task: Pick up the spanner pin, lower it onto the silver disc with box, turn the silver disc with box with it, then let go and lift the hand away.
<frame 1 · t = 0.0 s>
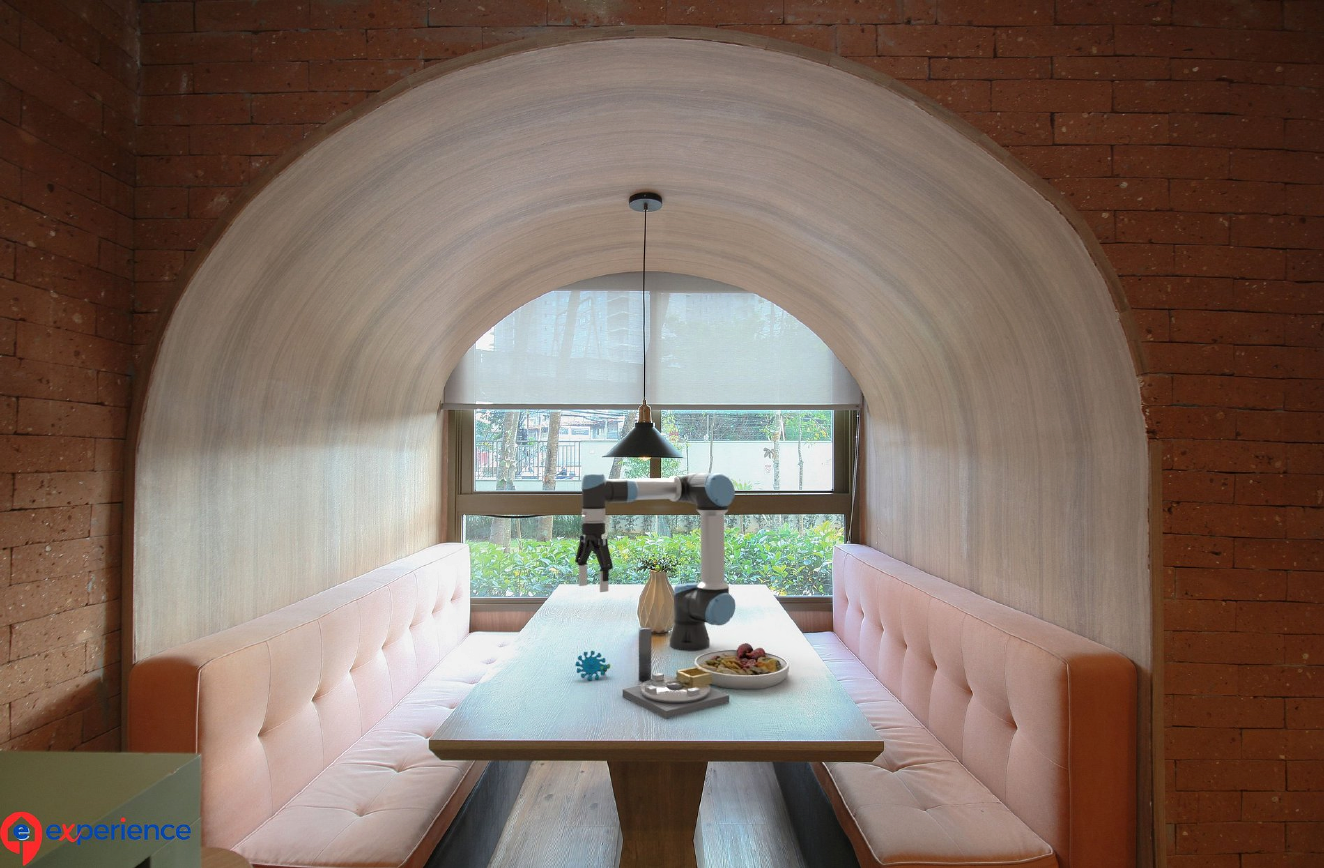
hand: (593, 588, 218), 28 cm above the table, fingers open, 13 cm apart
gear: (592, 678, 216), on the table
nut plate: (675, 699, 196), on the table
bowl: (741, 678, 217), on the table
silver disc with box: (676, 683, 196), point 4 cm above the table, hinge at 0.0°
spanner pin: (645, 679, 214), on the table
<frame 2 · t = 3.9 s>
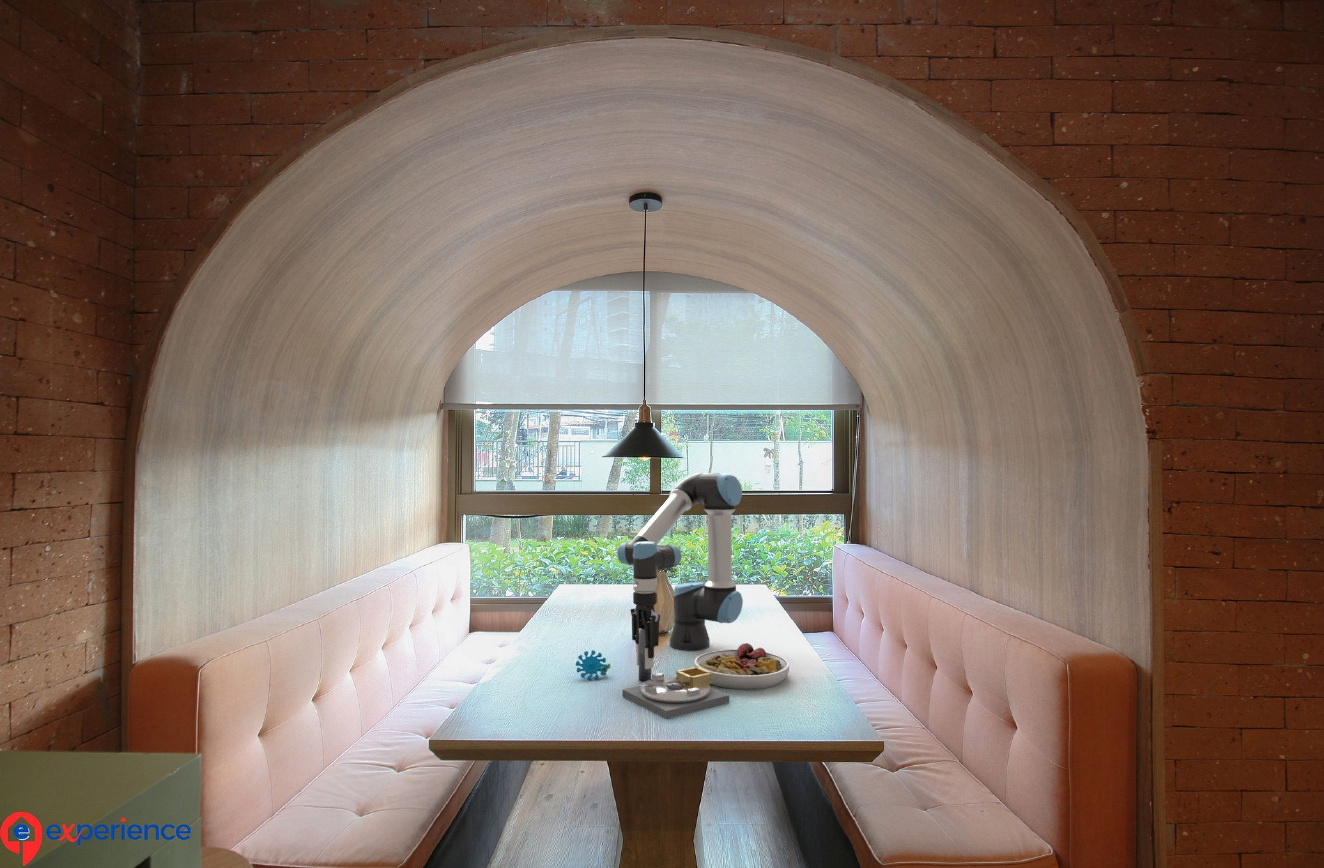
hand: (645, 666, 214), 4 cm above the table, fingers closed on spanner pin, 4 cm apart
spanner pin: (645, 679, 214), on the table, touching gripper
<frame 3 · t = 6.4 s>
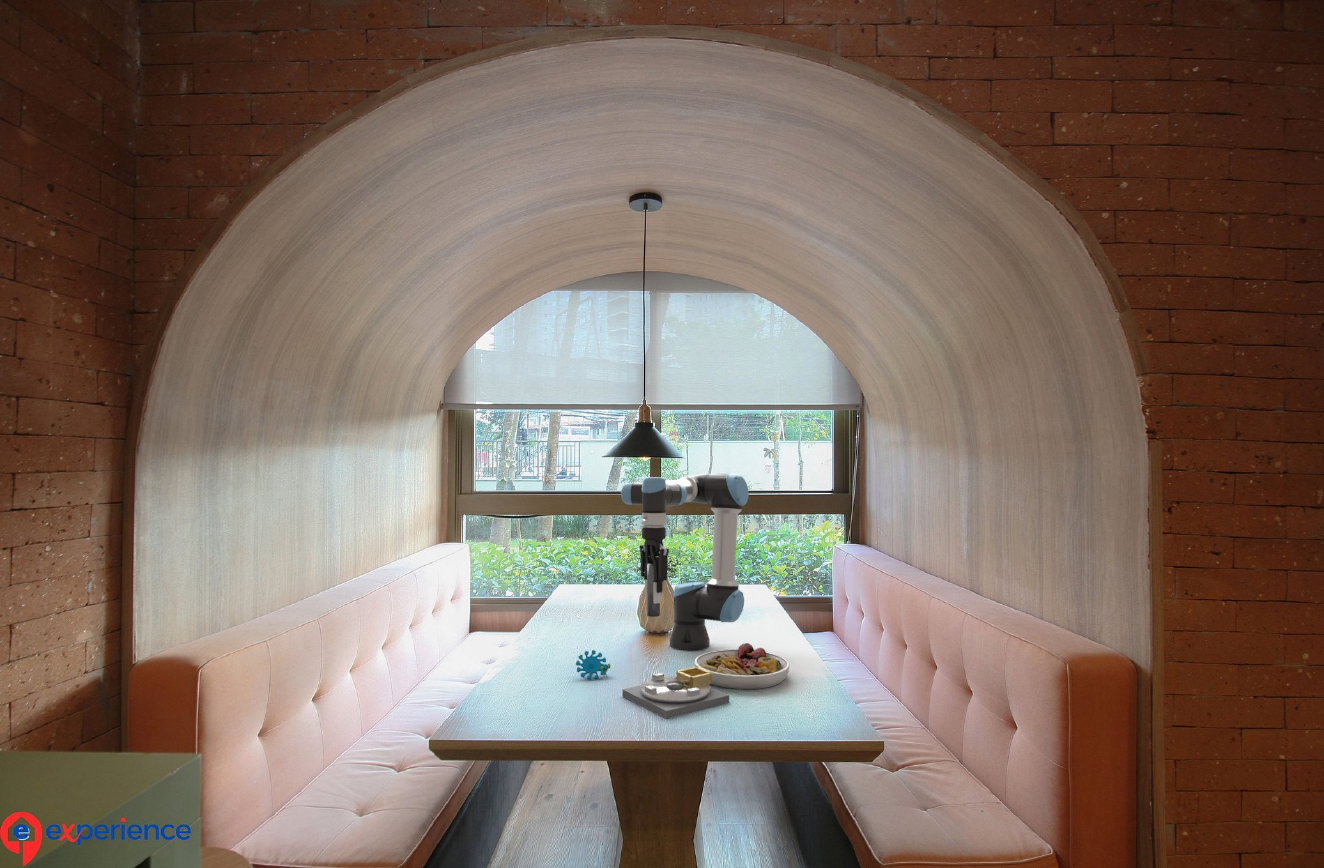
hand: (653, 601, 212), 25 cm above the table, fingers closed on spanner pin, 4 cm apart
spanner pin: (653, 615, 212), point 21 cm above the table, touching gripper
everything else where it was.
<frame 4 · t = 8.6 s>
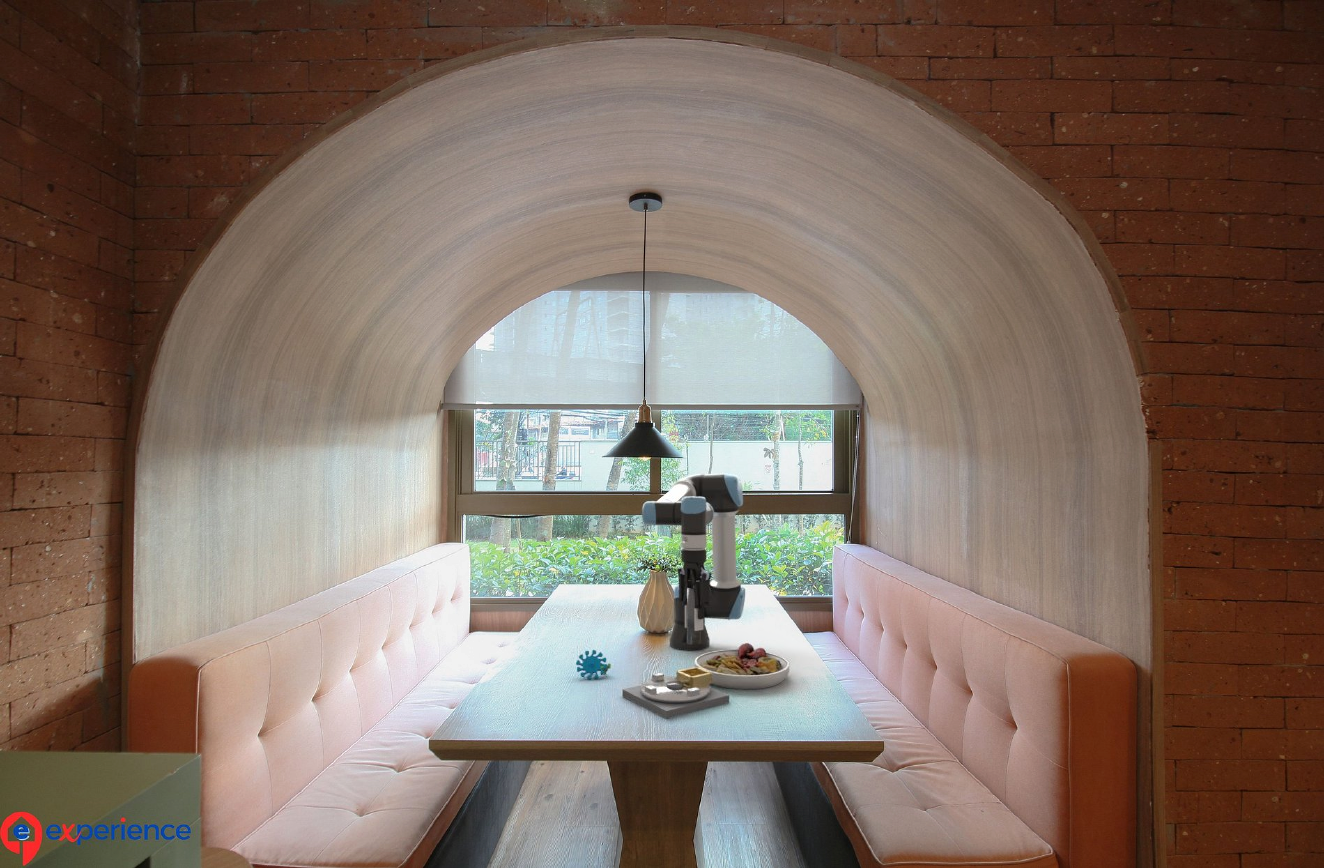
hand: (694, 628, 201), 19 cm above the table, fingers closed on spanner pin, 4 cm apart
spanner pin: (693, 643, 200), point 15 cm above the table, touching gripper
everything else where it was.
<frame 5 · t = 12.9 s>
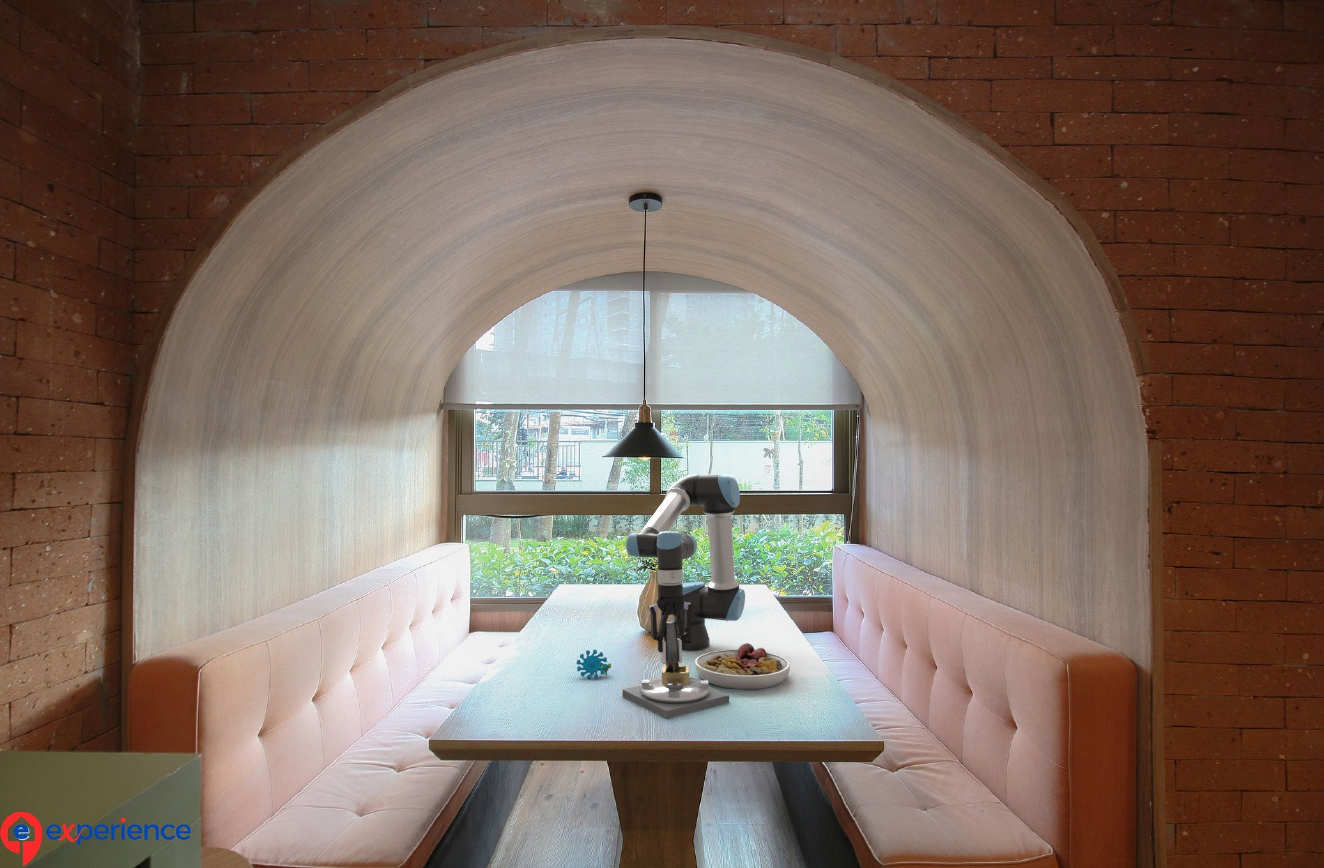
hand: (671, 662, 203), 9 cm above the table, fingers closed on spanner pin, 4 cm apart
silver disc with box: (675, 683, 196), point 4 cm above the table, hinge at 52.0°, touching spanner pin
spanner pin: (672, 676, 203), point 4 cm above the table, touching gripper, silver disc with box
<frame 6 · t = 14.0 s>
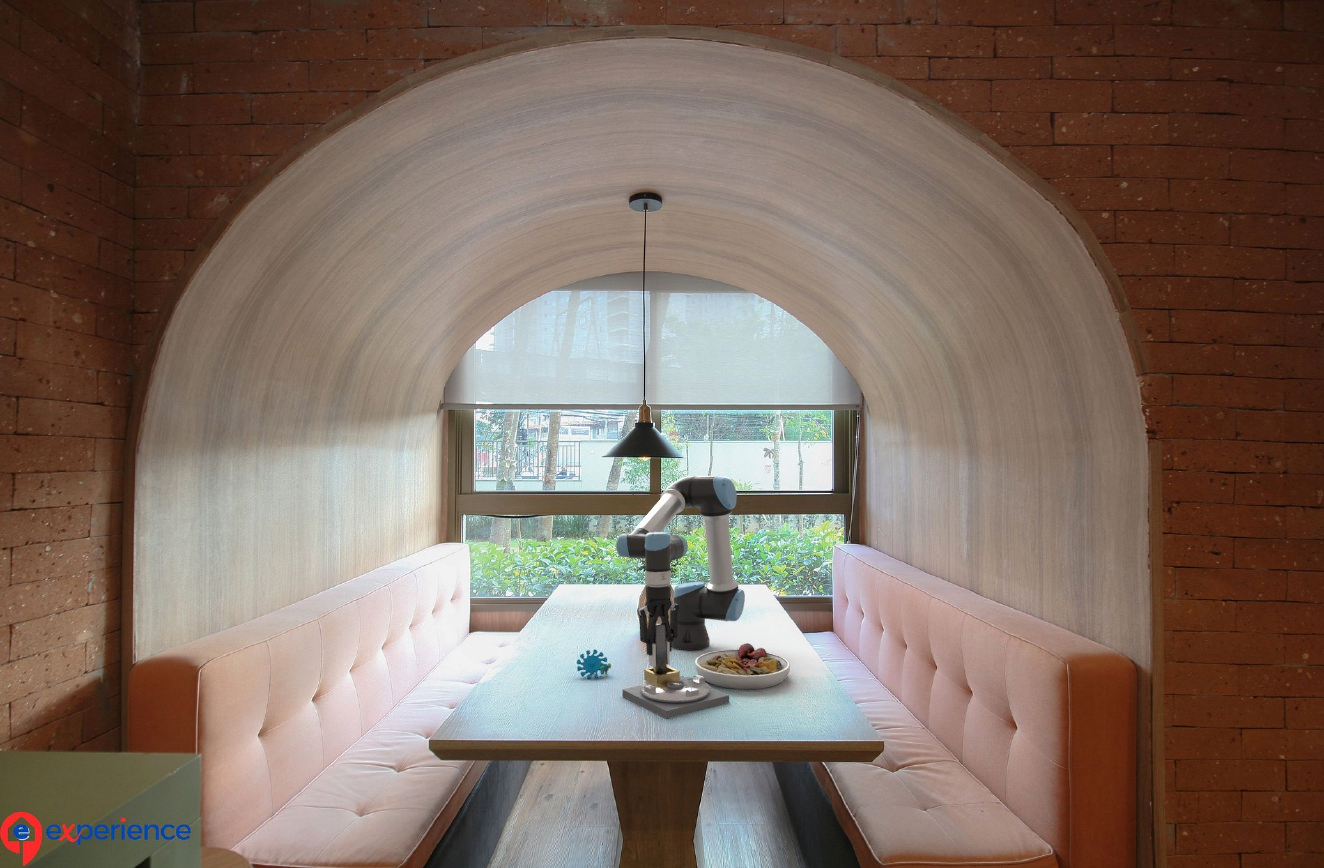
hand: (659, 664, 201), 9 cm above the table, fingers closed on spanner pin, 4 cm apart
silver disc with box: (674, 683, 196), point 4 cm above the table, hinge at 88.0°, touching spanner pin
spanner pin: (660, 678, 201), point 4 cm above the table, touching gripper, silver disc with box
when the fingers open (8 cm above the table, at t = 14.1 s): spanner pin stays where it is, resting on silver disc with box.
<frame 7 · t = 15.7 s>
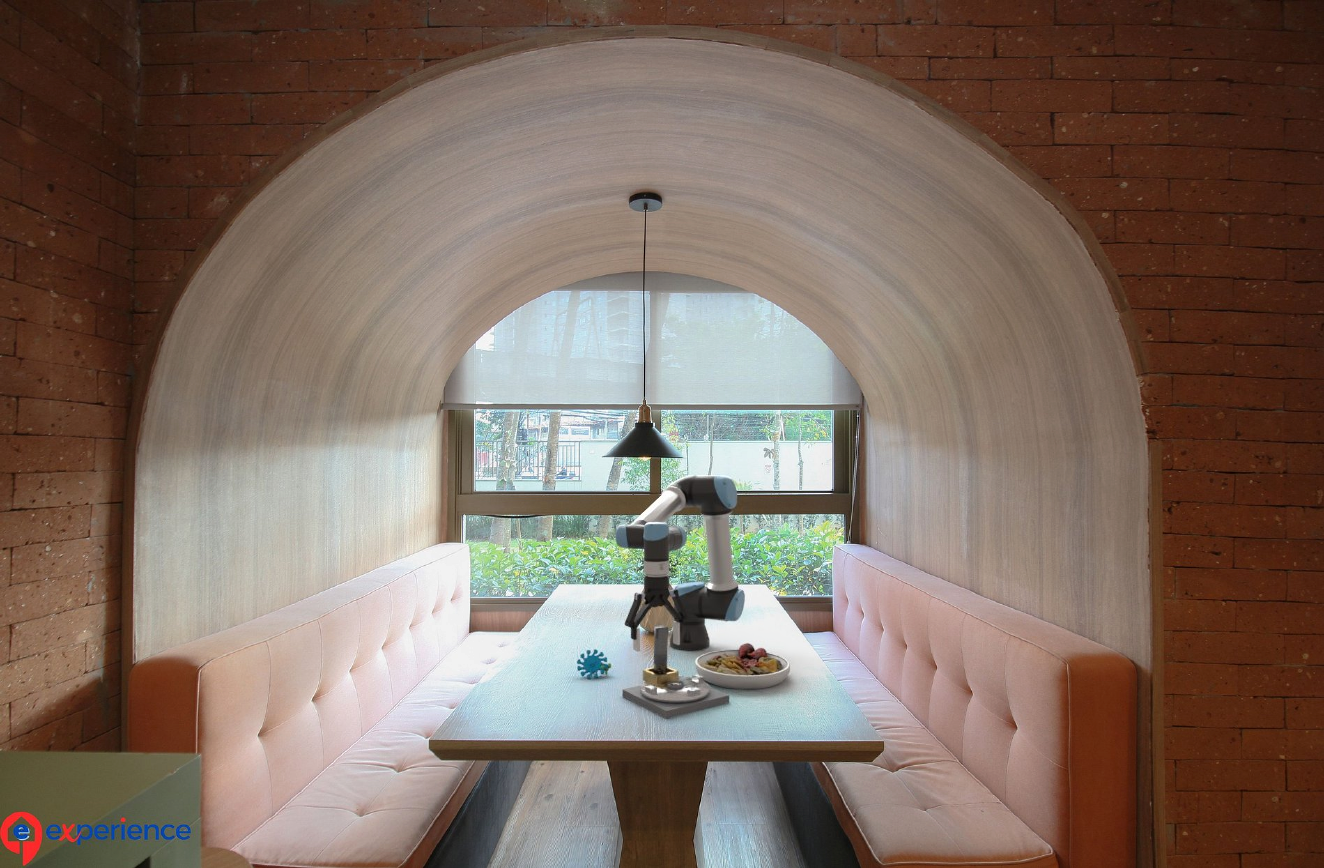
hand: (656, 647, 201), 14 cm above the table, fingers open, 13 cm apart
silver disc with box: (674, 683, 196), point 4 cm above the table, hinge at 91.1°, touching spanner pin
spanner pin: (660, 681, 201), point 4 cm above the table, touching silver disc with box
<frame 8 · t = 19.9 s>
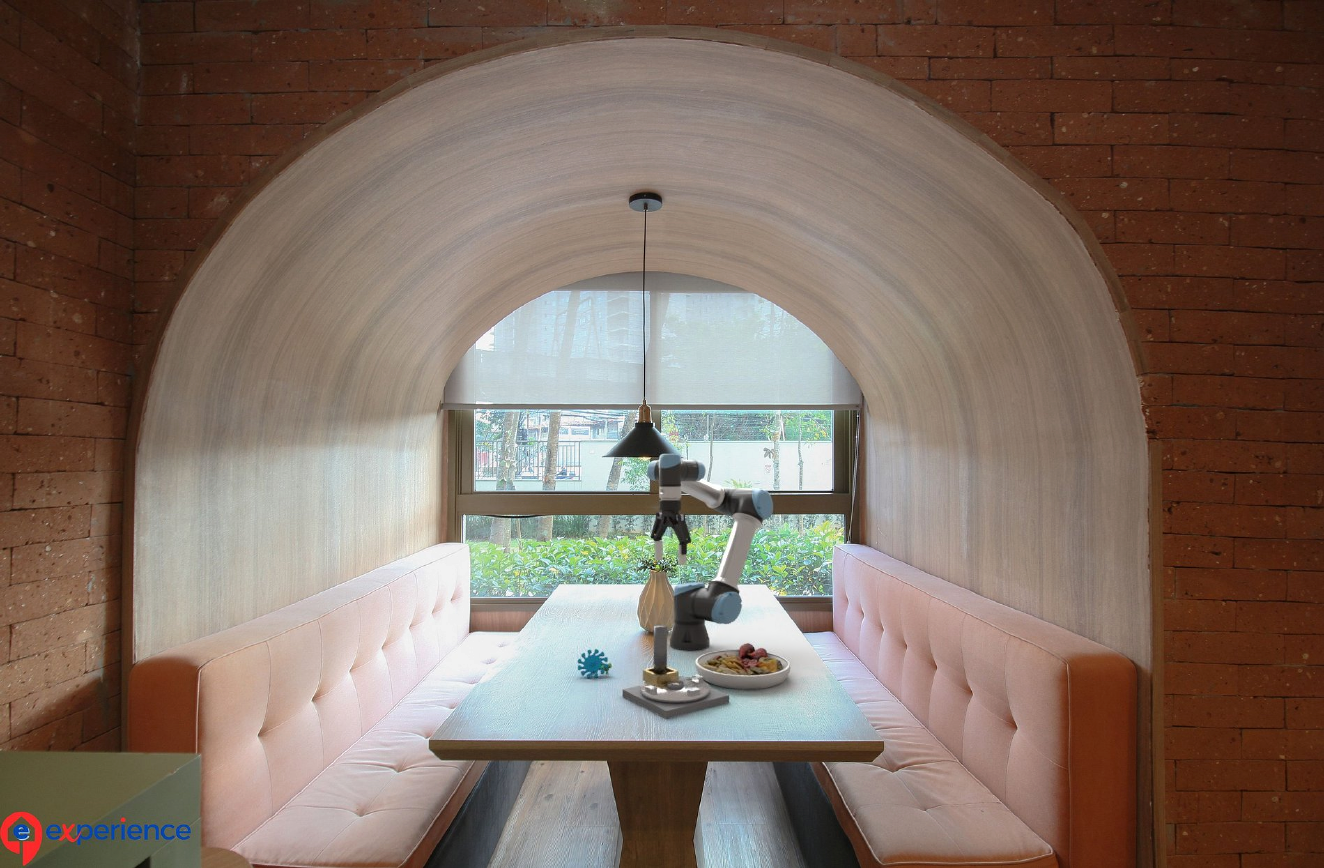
hand: (670, 562, 230), 35 cm above the table, fingers open, 13 cm apart
at the end: silver disc with box at +91° (first picture: +0°); spanner pin inside the target area on the silver disc with box (1.1 cm from its centre), point 3.6 cm above the silver disc with box's base; the gripper is holding nothing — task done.
